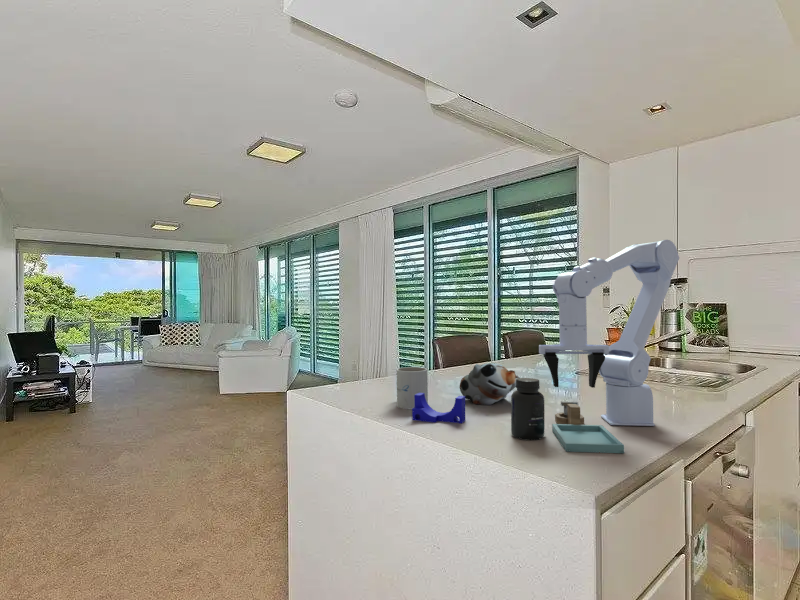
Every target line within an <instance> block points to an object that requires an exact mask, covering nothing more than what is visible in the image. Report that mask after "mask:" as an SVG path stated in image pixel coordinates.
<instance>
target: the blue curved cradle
mask: <svg viewBox="0 0 800 600" xmlns="http://www.w3.org/2000/svg"><path fill="white" fill-rule="evenodd" d="M414 398H415V407H414V408H412V409H411V411H412V412H411V413H412V414H411V415H412V417H411V419H412V421H417V422H425V423H427V422H428V423H437V422H441V423H442V422H444V423H453V424H463V423H465V421H466V399H465V396H463V395H458V396H457V397H455V400H454V405H453V407H452V409H450V410H449V411H446V412H442V411H441V412H440V411H437V410H435V409H433V408H432V407H431V406H430V405H429V402H428V403H427V401H426V399H425V393H417V394H415V395H414Z"/></svg>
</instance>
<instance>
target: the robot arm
mask: <svg viewBox="0 0 800 600" xmlns="http://www.w3.org/2000/svg"><path fill="white" fill-rule="evenodd" d="M679 260H680V256H679V253H678V249H677V245H675V243H674V242H673V241H672V240H671V239H663V240H659V241H658V240H657V241H653V242H646V243H645V242H644V243H640V244H639V243H635V244H632V245H630V246H629V245H628V246H626V247H624V248H623V249H622V250H620V251H618V252H617V253H615V254H612V255H611V256H610V257H608V258H606V259H604V258H600V257H599V258H597V257H591V258H588V259H587V262H586V263H584V264H582V265H578V266H574V267H573V269H572V270H571V271H570V272H569V271H568V272H567V271H566V272H562V273H560V274H558V275H557V277H556V278H555V280H554V283H553V284H552V291H553V293H554V294H555V296H556V299H557V300H556V302H557V304H558V316H559V317H558V323H559V325H558V327H559V328H558V331H559V344H539V345H538V354H540V355H543V358H544V361H545V362H546V364H547V366H548V369H549V371H550V375H551V379H552V383H553V386H554V387H555V388H559V385H560V382H559V357H558V355H570V354H571V355H587V361H588V386H589V387H590V388H593V389H594V388H596V382H597V378H598V375H600V376H601V377H602V378H603V379H602V381H603V382H605V405H606V406H605V407H606V409H605V410H606V411H605V412H606V413H605V414H600V417H601V418H602V419H603V420H604V421H605V422H607V423H608V424H609V425H611V426H638V427H640V426H643V427H644V426H647V427H655V426H656V424H655V423H654V395H653V390H652V388H651V387H650V385H649V384H647V383H645V381H646V380H647V378H648V376H649V366H650V362H651V360H652V358H651V356H650V355H649V353H648V352H647V350H646V349H645V346H646V344H647V342H648V340H649V337H650V335H651V332H652V329H653V327H654V325H655V323H656V320H657V317H658V316H659V313H660V312H661V311H660V310H661V308H662V305H663V303H664V300H665V298H666V296H667V294H668V292H669V288H670V285H671V280H672V277H673V275H674V272H675V270H676V268H677V265H678V263H679ZM627 267H630V269H631V271H632V272H633V274H634V276H635V278H636V280H638V281H639V282H642V287H641V289H640V291H639V293H638V295H637V297H636V300H635V302H634V305H633V307H632V310H631V312H630V314H629V317H628V319H627V321H626V324H625V325H624V327H623V330H622V333H621V335H620V337H619V340H617V341H616V342H614V343H612V344H610V345H607V344H589V343H588V332H587V331H588V326H587V325H588V324H587V321H588V320H587V316H588V315H587V314H588V313H587V297H588V296H589V295H590V294H592V290H593V289H595V288H597V287H599V286H602V285H603V284H605V283H607V282H609V281H610V280H611V279H612V276H613V275H614V272H617V271H619V270H622V269H624V268H627Z"/></svg>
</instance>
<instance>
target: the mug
mask: <svg viewBox="0 0 800 600" xmlns="http://www.w3.org/2000/svg"><path fill="white" fill-rule="evenodd" d="M428 380H429V379H428V368H426V367H419V366H417V367H416V366H408V367H405V366H404V367H399V368H396V406H397V408H400V409H403V410H405V409H406V410H412V408H414V407H415V398H414V395H415V394H417V393H425V399H426V401H427V403H428V404H429V392H428V391H429V390H428V388H429V387H428V386H429V385H428V382H429V381H428Z"/></svg>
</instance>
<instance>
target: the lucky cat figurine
mask: <svg viewBox="0 0 800 600" xmlns="http://www.w3.org/2000/svg"><path fill="white" fill-rule="evenodd" d="M518 378H521V377H520V376H518V374H516V371H515V370H511V369H510V370H508V368H507V367H505V366H504V365H502V364H499V363H495V362H493V363H492V362H491V363H490V362H489V363H483V364H478V363H475V364H474V365H473V368H472V369H471V371H470V372H469V373H468V374H466V375H465V376H463V377H461V380H460V382H459V391H460V393H461V396H465V400H469V401H470V403H471V404H473V405H483V406H484V405H485V406H491V405H493V404H494V403H496V402H500V401H501V400H503V399H506V398H507V396H508V394H509V393H511V392H512V391H513V390H514V389H515V388H516V379H518Z"/></svg>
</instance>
